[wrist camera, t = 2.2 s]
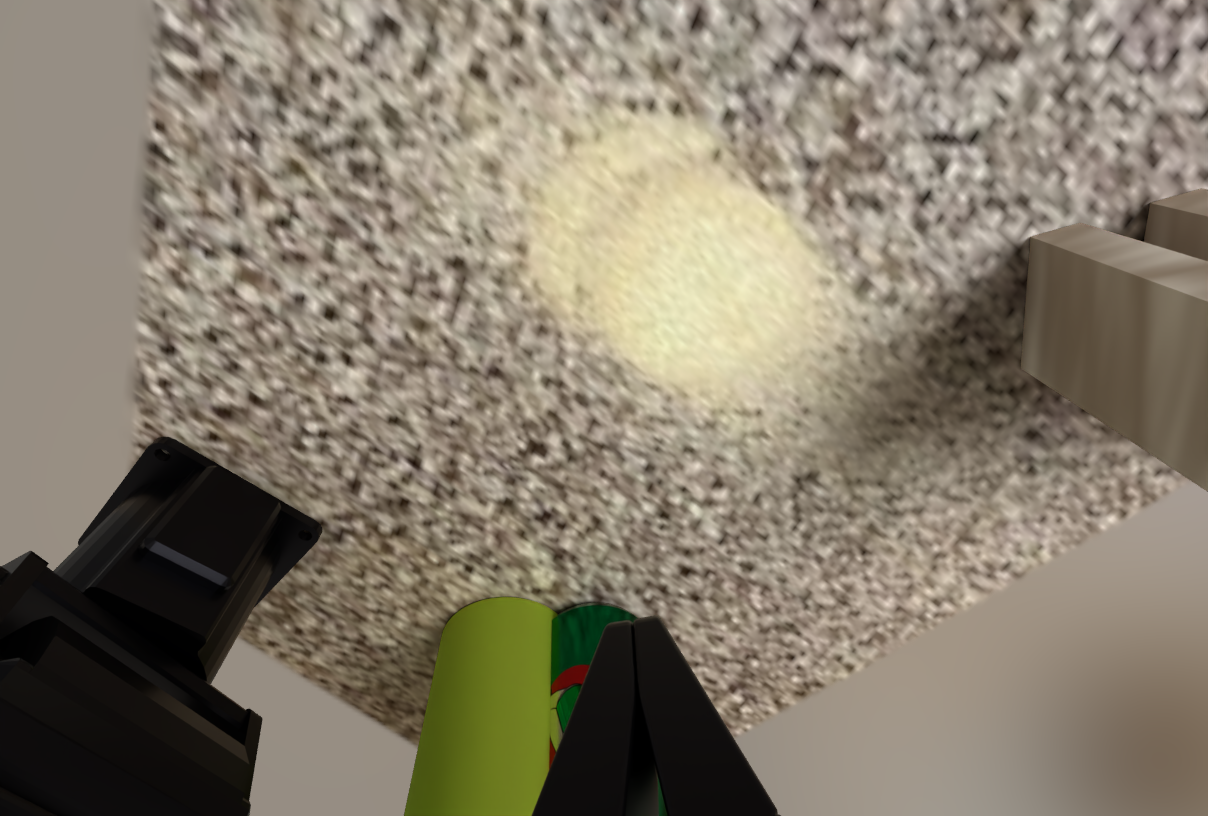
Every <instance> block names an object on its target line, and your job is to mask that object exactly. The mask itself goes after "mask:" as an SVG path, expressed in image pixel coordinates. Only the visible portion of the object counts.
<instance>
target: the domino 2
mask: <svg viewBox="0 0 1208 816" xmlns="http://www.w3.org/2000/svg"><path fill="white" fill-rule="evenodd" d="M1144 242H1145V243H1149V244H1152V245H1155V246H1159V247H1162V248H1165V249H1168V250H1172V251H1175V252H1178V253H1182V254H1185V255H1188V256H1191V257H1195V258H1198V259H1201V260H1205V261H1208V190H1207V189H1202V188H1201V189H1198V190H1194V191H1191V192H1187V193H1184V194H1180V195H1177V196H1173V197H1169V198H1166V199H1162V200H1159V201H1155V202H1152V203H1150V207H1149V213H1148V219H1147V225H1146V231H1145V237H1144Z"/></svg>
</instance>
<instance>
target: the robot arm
mask: <svg viewBox="0 0 1208 816" xmlns="http://www.w3.org/2000/svg"><path fill="white" fill-rule="evenodd" d="M162 449H163V450H166V451H167V452H168V453H169V454H170V455H169V454H166V453H164V452H163V451H162ZM303 530H306V531H309V532H310V534H309V533H306V532H304V531H303ZM321 533H322V527H321V525H320V524H319V523H318V522H317V521H315V520H314V519H312V518H310V517H308V516H307V515H305V514H303V513H301V512H300V511H298V510H296V509H295V508H293V507H291V506H289V505H288V504H286V503H284V502H282V501H281V500H279V499H277V498H275V497H274V496H272V495H270V494H269V493H267V492H265V491H263V490H262V489H260V488H258V487H256V486H255V485H253V484H251V483H249V482H248V481H246V480H244V479H243V478H241V477H239V476H237V475H236V474H234V473H232V472H230V471H229V470H227V469H225V468H224V467H222V466H220V465H218V464H217V463H215V462H213V461H211V460H210V459H208V458H206V457H204V456H203V455H201V454H199V453H198V452H196V451H194V450H192V449H191V448H189V447H187V446H185V445H184V444H182V443H180V442H178V441H177V440H175V439H172V438H170V437H160V438H158V439H156V440H155V441H154V442H153V443H152V444H151V445H150V446H148V448H147V449H146V450H145V452H144V453H143V454H142V456H141V457H140V458H139V460H138V461H137V462H136V464H135V465H134V466H133V468H132V469H131V470H130V472H129V473H128V474H127V476H126V477H125V479H124V480H123V481H122V483H121V484H120V485H119V487H118V488H117V489H116V491H115V492H114V493H113V495H112V496H111V497H110V499H109V500H108V501H107V503H106V504H105V505H104V507H103V508H102V509H101V511H100V512H99V513H98V515H97V516H96V517H95V519H94V520H93V521H92V523H91V524H90V526H89V527H88V528H87V529H86V531H85V532H84V533H83V535H82V536H81V538H80V539H79V541H78V545H79V546H78V547H77V548H76V549H75V550H74V551H73V552H72V553H71V554H70V555H69V556H68V557H67V558H66V559H65V560H64V561H63V562H62V563H61V564H60V565H59V566H58V567H57V568H56V569H55V570H54V571H52V570H50V569H49V568H48V567H46V566H47V565H48V562H46V561H45V560H43V559H42V558H41V557H39V556H38V555H36V554H35V553H34V552H32V551H29V552H27V553H25V554H23V555H22V556H20V557H18V558H16V559H14V560H13V561H11V562H9V563H7V564H5V565H3V566H0V816H249V813H250V806H251V805H250V802H249V798H250V791H251V786H252V780H253V774H254V767H255V761H256V755H257V749H258V743H259V737H260V731H261V725H262V717H261V716H259V715H258V714H256V713H255V712H254V711H252V710H251V709H246V710H245V709H244V708H242V707H241V706H240V705H238V704H237V703H235V702H234V701H233V700H231V699H230V698H228V697H227V696H226V695H224V694H222V692H220V691H219V690H217V689H216V688H215V687H213V686H212V685H210V684H211V683H212V681H213V679H214V677H215V676H216V674H217V672H218V670H219V668H220V667H221V665H222V663H223V661H224V659H225V658H226V656H227V654H228V652H229V650H230V649H231V647H232V645H233V643H234V642H235V640H236V638H237V636H238V635H239V633H240V631H241V629H242V627H243V626H244V624H245V622H246V620H247V619H248V617H249V615H250V613H251V611H252V610H253V608H254V607H255V606H256V605H257V604H258V603H259V602H260V601H261V600H262V599H263V598H264V597H265V596H266V595H267V594H268V592H269V591H270V590H271V589H272V588H273V587H274V586H275V585H276V584H277V583H278V582H279V581H280V580H281V579H282V578H283V577H284V576H285V575H286V574H287V573H288V572H289V571H290V570H291V568H292V567H293V566H294V565H295V564H296V563H297V562H298V561H299V560H300V559H301V558H302V557H303V556H304V555H305V554H306V553H307V552H308V551H309V550H310V549H311V548H312V547H313V546H314V544H315V543H316V542H317V541H318V539H319V537H320V535H321ZM658 779H659V783H660V787H661V791H662V796H663V800H664V804H665V808H666V812H667V816H781V815H778V813H777V809H776V807H775V805H774V804H773V802H772V800H771V799H770V797H769V795H768V794H767V792H766V791H765V789H764V788H763V786H762V784H761V782H760V781H759V779H758V778H757V776H756V774H755V773H754V771H753V769H752V768H751V766H750V765H749V763H748V761H747V759H746V758H745V756H744V754H743V753H742V751H741V750H740V748H739V746H738V745H737V743H736V741H735V740H734V738H733V736H732V735H731V733H730V732H729V730H728V728H727V727H726V725H725V723H724V722H723V720H722V718H721V717H720V715H719V713H718V712H717V710H716V709H715V707H714V705H713V704H712V702H711V700H710V699H709V697H708V695H707V694H706V692H705V691H704V689H703V687H702V686H701V684H700V682H699V681H698V679H697V677H696V676H695V674H694V673H693V671H692V669H691V668H690V666H689V664H688V663H687V661H686V659H685V658H684V656H683V654H682V653H681V651H680V650H679V648H678V646H677V645H676V643H675V641H674V640H673V638H672V636H671V635H670V633H669V632H668V630H667V628H666V627H665V625H664V623H663V622H662V620H661V619H660V618H659V617H658V616H649V617H643V618H637V619H635V620H634V622H633V623H632V622H631V621H630V620H625V621H619V622H613V623H609V624H607V625H606V627H605V628H604V631H603V633H602V636H601V638H600V641H599V643H598V646H597V648H596V651H595V654H594V656H593V659H592V661H591V664H590V666H589V669H588V672H587V674H586V677H585V679H584V682H583V684H582V687H581V690H580V692H579V695H578V697H577V700H576V702H575V705H574V708H573V710H572V713H571V715H570V718H569V720H568V723H567V726H566V728H565V731H564V733H563V736H562V738H561V741H560V744H559V746H558V749H557V751H556V754H555V756H554V759H553V762H552V764H551V767H550V769H549V772H548V774H547V777H546V780H545V782H544V785H543V787H542V790H541V792H540V795H539V798H538V800H537V803H536V805H535V808H534V810H533V813H532V816H659V802H658Z"/></svg>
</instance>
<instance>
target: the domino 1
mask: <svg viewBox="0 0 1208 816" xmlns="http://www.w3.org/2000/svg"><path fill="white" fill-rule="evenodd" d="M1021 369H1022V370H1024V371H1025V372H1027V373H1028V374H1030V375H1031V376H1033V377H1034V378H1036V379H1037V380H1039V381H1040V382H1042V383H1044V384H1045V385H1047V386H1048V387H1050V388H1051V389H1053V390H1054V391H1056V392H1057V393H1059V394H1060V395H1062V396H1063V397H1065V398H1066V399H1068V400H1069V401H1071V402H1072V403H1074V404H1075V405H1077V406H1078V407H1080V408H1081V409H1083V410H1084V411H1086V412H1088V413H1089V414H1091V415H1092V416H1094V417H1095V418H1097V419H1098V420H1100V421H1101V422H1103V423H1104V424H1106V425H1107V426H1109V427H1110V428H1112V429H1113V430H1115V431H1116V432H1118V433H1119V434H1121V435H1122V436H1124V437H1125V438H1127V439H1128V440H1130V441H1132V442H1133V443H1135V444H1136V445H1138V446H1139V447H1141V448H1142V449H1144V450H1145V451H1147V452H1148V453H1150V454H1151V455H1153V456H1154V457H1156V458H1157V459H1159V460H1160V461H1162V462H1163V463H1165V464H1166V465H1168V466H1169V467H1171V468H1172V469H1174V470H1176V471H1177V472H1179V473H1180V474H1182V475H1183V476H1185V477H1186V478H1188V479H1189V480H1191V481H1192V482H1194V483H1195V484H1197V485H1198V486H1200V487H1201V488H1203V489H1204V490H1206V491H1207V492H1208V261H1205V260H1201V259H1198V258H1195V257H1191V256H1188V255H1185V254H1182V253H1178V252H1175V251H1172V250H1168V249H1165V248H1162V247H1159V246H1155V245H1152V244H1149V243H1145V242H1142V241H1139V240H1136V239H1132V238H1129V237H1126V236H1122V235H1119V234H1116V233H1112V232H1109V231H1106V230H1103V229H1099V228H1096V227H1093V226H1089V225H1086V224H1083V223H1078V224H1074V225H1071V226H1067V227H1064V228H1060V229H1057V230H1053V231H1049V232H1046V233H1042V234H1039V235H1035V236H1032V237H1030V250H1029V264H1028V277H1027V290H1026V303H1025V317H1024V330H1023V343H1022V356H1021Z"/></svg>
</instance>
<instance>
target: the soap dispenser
mask: <svg viewBox="0 0 1208 816" xmlns="http://www.w3.org/2000/svg"><path fill="white" fill-rule="evenodd" d="M557 615H558V614H557V613H556V612H554V611H553V610H551V609H550V608H548V607H546V606H544V605H542V604H540V603H537V602H534V601H531V600H527V599H522V598H515V597H498V598H490V599H485V600H481V601H478V602H475V603H473V604H470V605H468V606H466V607H464V608H463V609H461V610H460V611H458V612H457V613H456V614H455V615H454V616H452V618H451V619H450V620H449V621H448V622H447V624H446V626H445V627H444V630H443V632H442V636H441V641H440V646H439V650H438V655H437V660H436V665H435V670H434V674H433V679H432V684H431V689H430V693H429V698H428V703H427V708H426V712H425V717H424V722H423V727H422V732H421V736H420V741H419V746H418V751H417V755H416V760H415V765H414V770H413V775H412V779H411V784H410V789H409V794H408V798H407V803H406V808H405V813H404V816H532V813H533V810H534V808H535V805H536V803H537V800H538V798H539V795H540V792H541V790H542V787H543V785H544V782H545V780H546V777H547V774H548V772H549V751H550V691H551V630H552V619H553V618H554V617H555V616H557Z"/></svg>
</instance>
